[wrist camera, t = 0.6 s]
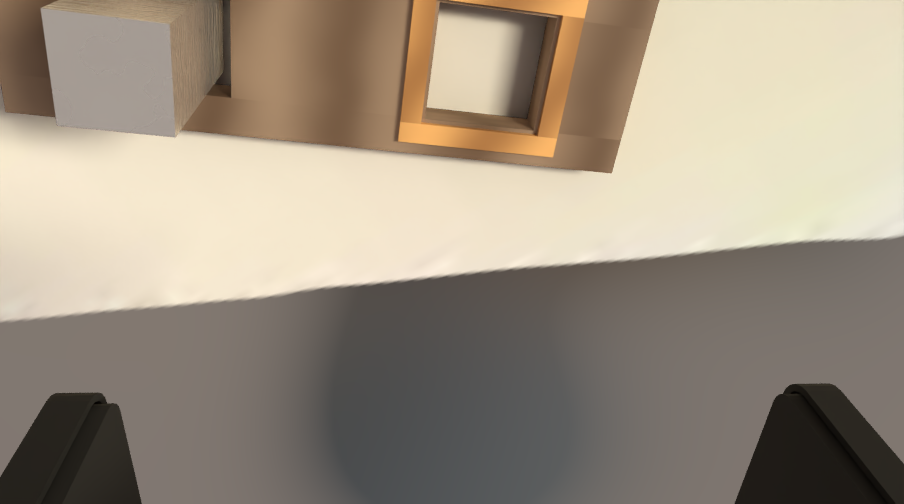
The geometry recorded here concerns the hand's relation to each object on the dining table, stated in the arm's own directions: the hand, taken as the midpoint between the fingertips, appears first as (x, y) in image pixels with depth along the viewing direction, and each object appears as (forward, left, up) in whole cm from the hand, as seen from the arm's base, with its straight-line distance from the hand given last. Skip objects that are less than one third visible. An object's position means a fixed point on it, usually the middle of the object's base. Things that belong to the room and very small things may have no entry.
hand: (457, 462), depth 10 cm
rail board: (-3, -1, -30) cm, 31 cm away
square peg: (-11, -1, -30) cm, 32 cm away
